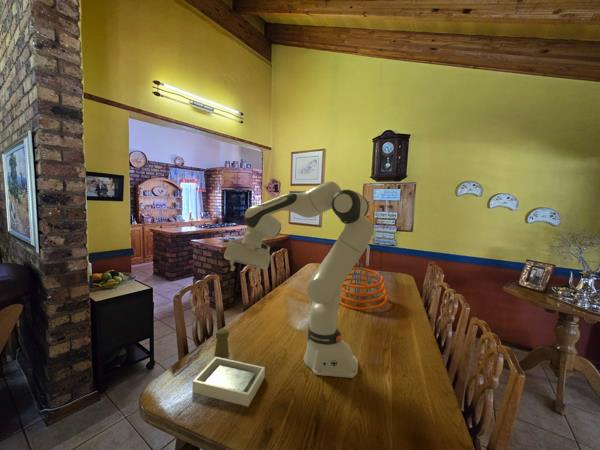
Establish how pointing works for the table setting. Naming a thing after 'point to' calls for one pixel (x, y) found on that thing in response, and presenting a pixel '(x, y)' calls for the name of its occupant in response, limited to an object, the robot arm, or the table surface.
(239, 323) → the table surface
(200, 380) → the tote
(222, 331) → the cork
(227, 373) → the tin box
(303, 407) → the table surface
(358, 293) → the toy basket
